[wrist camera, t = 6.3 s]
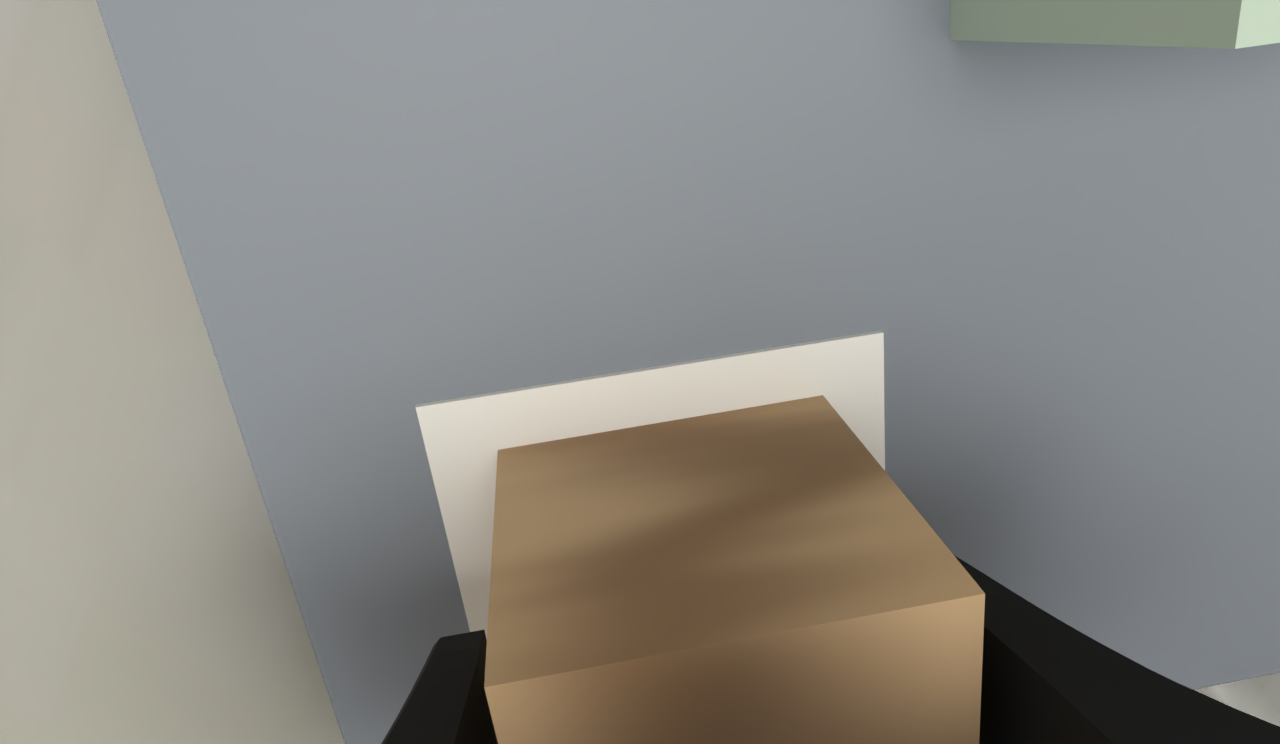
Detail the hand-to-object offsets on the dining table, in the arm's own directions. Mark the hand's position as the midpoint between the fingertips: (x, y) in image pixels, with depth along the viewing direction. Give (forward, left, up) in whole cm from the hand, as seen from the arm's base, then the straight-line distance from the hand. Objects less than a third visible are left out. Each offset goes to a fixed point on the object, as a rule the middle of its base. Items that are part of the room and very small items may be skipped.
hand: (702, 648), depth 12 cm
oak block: (0, 0, -2) cm, 2 cm away
